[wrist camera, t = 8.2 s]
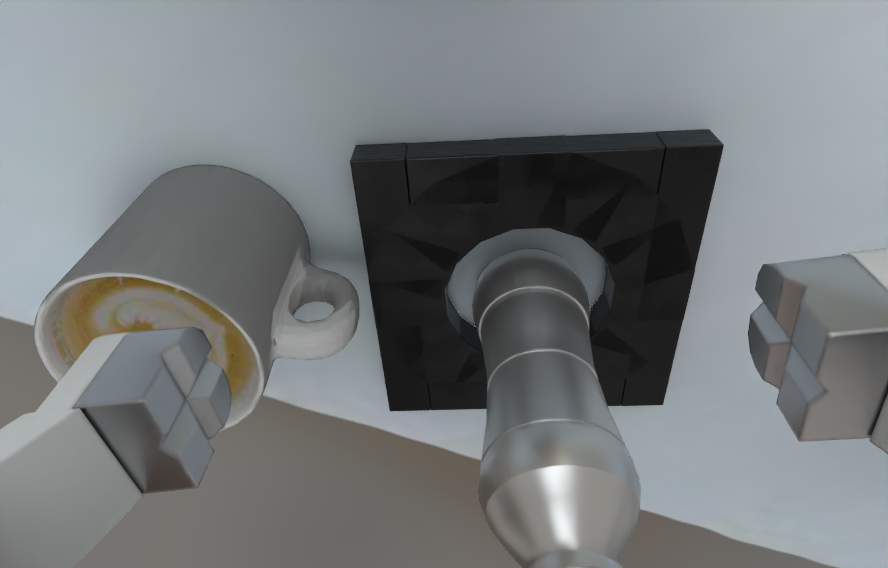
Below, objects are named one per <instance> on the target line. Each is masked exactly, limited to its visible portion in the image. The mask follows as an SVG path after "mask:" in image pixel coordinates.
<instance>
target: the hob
mask: <svg viewBox="0 0 888 568" xmlns="http://www.w3.org/2000/svg"><path fill="white" fill-rule="evenodd" d="M723 146H724V145H723V144H722V143H721V141H720V140H719V139H718V138H717V137H716V136H715V135H714V134H713V133H712V132H711V131H710V130H687V131H665V132H655V133H654V132H650V133H628V134H605V135H583V136H546V137H524V138H502V139H493V140H471V141H449V142H427V143H409V144H407V143H399V144H376V145H356V146H355V149H354V152H353V155H352V158H351V161H350V164H351V170H352V177H353V183H354V189H355V195H356V202H357V208H358V214H359V221H360V227H361V233H362V239H363V246H364V252H365V258H366V264H367V271H368V277H369V286H370V292H371V298H372V304H373V311H374V317H375V323H376V328H377V333H378V340H379V346H380V352H381V359H382V365H383V371H384V377H385V384H386V390H387V396H388V402H389V409H390V411H417V410H430V409H431V410H453V409H487V394H488V393H487V373H486V366H485V360H484V354H483V348H482V343H481V340H480V338H479V335H478V332H477V329H475V328H474V327H473V326H471V325H470V324H468V323H467V322H466V321H464V320H463V319H461V318H460V316H459V315H458V313H457V311H456V310H455V308H454V306H453V305H452V303H451V301H450V300H449V298H448V296H447V284H448V282H449V279H450V277H451V275H452V272H453V270H454V268H455V266H456V263H458V262H459V261H460V260H461V259H462V258H463V257H464V256H465V255H466V254H468V253H469V252H470V251H471V250H472V249H473V248H474V247H475V246H476V245H477V244H479V243H480V242H482V241H484V240H487V239H489V238H492V237H494V236H497V235H500V234H502V233H505V232H507V231H510V230H512V229H528V228H552V229H555V230H558V231H561V232H564V233H567V234H570V235H573V236H576V237H579V238H582V239H583V240H584V241H585V242H587V243H588V244H589V245H590V246H591V247H592V248H593V249H595V250H596V251H597V252H598V253H599V254H600V255H601V256H603V257H604V258H605V261H606V263H607V273H606V281H605V289H604V292H603V294H602V295H601V297H600V298H599V300H598V301H597V303H596V305H595V306H594V308H593V309H592V311H591V312H590V318H589V336H590V343H591V350H592V357H593V364H594V368H595V371H596V374H597V377H598V381H599V383H600V385H601V388H602V391H603V394H604V397H605V400H606V403H607V406H620V405H621V406H640V405H663V402H664V398H665V394H666V389H667V385H668V381H669V377H670V372H671V368H672V364H673V360H674V355H675V351H676V347H677V342H678V338H679V334H680V330H681V325H682V321H683V319H684V315H685V310H686V306H687V302H688V298H689V293H690V289H691V285H692V281H693V276H694V272H695V266H696V261H697V257H698V253H699V249H700V244H701V240H702V236H703V231H704V227H705V223H706V219H707V214H708V210H709V206H710V202H711V197H712V193H713V189H714V184H715V180H716V176H717V172H718V167H719V163H720V159H721V155H722V150H723Z"/></svg>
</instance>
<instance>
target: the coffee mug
mask: <svg viewBox="0 0 888 568" xmlns="http://www.w3.org/2000/svg"><path fill="white" fill-rule="evenodd" d="M309 261H310V248H309V242H308V238H307V235H306V232H305V229H304V227H303V224H302V222H301V220H300V219H299V217H298V216H297V214H296V213H295V211H294V210H293V209H292V208H291V206H290V205H289V204H288V203H287V201H285V200H284V199H283V198H282V197H281V196H280V195H279V194H278V193H277V192H276V191H275V190H273V189H272V188H270V187H269V186H267V185H266V184H264V183H263V182H261V181H259V180H258V179H256V178H254V177H252V176H250V175H247V174H245V173H242V172H239V171H237V170H234V169H230V168H226V167H220V166H212V165H194V166H187V167H182V168H178V169H175V170H172V171H170V172H167V173H165V174H164V175H162V176H160V177H159V178H157V179H156V180H155V181H154V182H153V183H151V184H150V185H149V186H148V187H147V189H146V190H145V191H144V192H143V193H142V194H141V195H140V196H139V197H138V198H137V199H136V200H135V201H134V202H133V204H132V205H131V206H130V207H129V208H128V209H127V210H126V211H125V212H124V213H123V214H122V215H121V216H120V217H119V218H118V220H117V221H116V222H115V223H114V224H113V225H112V226H111V227H110V228H109V229H108V230H107V231H106V232H105V233H104V235H103V236H102V237H101V238H100V239H99V240H98V241H97V242H96V243H95V244H94V245H93V246H92V247H91V248H90V249H89V251H88V252H87V253H86V254H85V255H84V256H83V257H82V258H81V259H80V260H79V261H78V262H77V263H76V264H75V266H74V267H73V268H72V269H71V270H70V271H69V272H68V273H67V274H66V275H65V276H64V277H63V278H62V279H61V281H60V282H59V283H58V284H57V285H56V286H55V287H54V288H53V289H52V290H51V291H50V293H49V294H48V295H47V296H46V298H45V299H44V300H43V302H42V304H41V306H40V308H39V310H38V312H37V315H36V319H35V324H34V333H35V334H34V335H35V341H36V345H37V349H38V352H39V354H40V357H41V359H42V361H43V363H44V364H45V366H46V367H47V369H48V371H49V372H50V374H51V375H52V376H53V377H54V378H55V380H56V381H57V382H58V383H59V382H60V380H61V379H62V378H63V377H64V375H65V374H66V373H67V372H68V370H69V369H70V368H71V367H72V365H73V364H74V363H75V362H76V360H77V359H78V358H79V357H80V355H81V354H82V353H83V352H84V350H85V349H86V348H87V347H88V345H89V344H90V343H91V342H92V340H93V339H95V338H97V337H100V336H103V335H107V334H116V333H125V332H135V331H146V330H158V329H169V328H181V327H192V326H194V327H196V328H199V329H201V330H203V331H204V333H205V335H206V337H207V339H208V340H209V342H210V344H211V346H212V348H211V351H210V354H209V357H208V359H210V360H211V361H213V362H214V363H216V364H217V365H219V366H221V367H222V368H223V369H224V372H225V374H226V376H227V378H228V380H229V384H230V389H231V393H232V396H231V409H230V414H229V416H228V419H227V422H226V424H225V427H224V428H223V429H222V430H224V429H226V428H229V427H231V426H233V425H235V424H237V423H239V422H240V421H242V420H243V419H244V418H246V416H248V415H249V414H250V413H251V412H252V411H253V410H254V409H255V407H256V406H257V404H258V403H259V401H260V399H261V397H262V395H263V392H264V390H265V387H266V384H267V381H268V378H269V375H270V371H271V368H272V365H273V362H274V360H275V359H277V358H292V359H305V360H313V359H322V358H325V357H329V356H331V355H334V354H336V353H338V352H339V351H341V350H343V349H344V348H345V346H346V345H347V344H348V343H349V341H350V340H351V339H352V337H353V335H354V333H355V331H356V328H357V324H358V319H359V298H358V294H357V291H356V289H355V287H354V286H353V284H352V283H351V282H350V281H349V280H348V279H346V278H345V277H343V276H341V275H339V274H337V273H335V272H331V271H327V270H324V269H320V268H317V267H315V266H313V265H311V264H310V263H309ZM314 301H318V302H327V303H329V304H331V305H333V306H334V307H335V310H334V311H333V312H332V313H331V314H330V316H329V317H327V318H325V319H323V320H317V321H311V322H305V321H301V320H298V319H295V318H294V317H293V315H294V313H295V312H296V310H297V309H298V308H300V307H301V306H302V305H304V304H306V303H310V302H314ZM220 431H221V430H220Z"/></svg>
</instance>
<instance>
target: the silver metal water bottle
mask: <svg viewBox="0 0 888 568" xmlns="http://www.w3.org/2000/svg"><path fill="white" fill-rule="evenodd" d="M472 308H473V316H474V321H475V325H476V329H477V332H478V335H479V338H480V340H481V343H482V348H483V354H484V360H485V366H486V373H487V393H488V394H487V421H486V429H485V436H484V444H483V451H482V458H481V467H480V473H479V491H478V492H479V500H480V504H481V506H482V509H483V512H484V515H485V518H486V520H487V523H488V525H489V527H490V529H491V531H492V532H493V533H494V535H495V536H496V537H497V539H498V540H499V542H500V543H501V544H502V546H503V547H504V548H505V550H506V551H507V552H508V553H509V554H510V555H511V557H512V558H513V559H514V560H515V561H516V562H517V563H518V564H519V565H520V566H521V567H522V568H623V567H622V566H621V565H620V564H618V562H619V560H620V558H621V556H622V554H623V553H624V551H625V549H626V547H627V545H628V542H629V541H630V539H631V536H632V533H633V531H634V528H635V525H636V522H637V520H638V516H639V510H640V492H641V486H640V481H639V476H638V474H637V471H636V469H635V466H634V463H633V460H632V458H631V456H630V454H629V452H628V450H627V448H626V445H625V443H624V441H623V439H622V437H621V435H620V433H619V430H618V428H617V426H616V424H615V422H614V420H613V418H612V415H611V413H610V411H609V409H608V406H607V403H606V400H605V397H604V394H603V391H602V388H601V385H600V383H599V381H598V377H597V374H596V371H595V368H594V364H593V357H592V350H591V343H590V336H589V318H590V314H589V302H588V296H587V291H586V289H585V287H584V285H583V283H582V281H581V280H580V278H579V276H578V275H577V273H576V271H575V270H574V269H573V268H572V266H571V265H570V264H569V263H568V262H567V261H565V260H564V259H563V258H562V257H560V256H558V255H556V254H554V253H551V252H548V251H544V250H539V249H519V250H515V251H511V252H508V253H506V254H504V255H501V256H500V257H498V258H496V259H495V260H493V261H492V262H491V263H490V264H489V265H488V266H487V267H486V268H485V269H484V270H483V272H482V273H481V275H480V277H479V279H478V282H477V285H476V289H475V293H474V297H473V304H472Z"/></svg>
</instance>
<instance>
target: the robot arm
mask: <svg viewBox="0 0 888 568" xmlns="http://www.w3.org/2000/svg"><path fill="white" fill-rule="evenodd" d="M755 290H756V291H757V293H758V294H759V296H760V297H761V299H762V300H763V303H762V304H761V305H760V306H759V307H758V308H757V309H756V310H755V311H754V312H753V313H752V314H751V315H750V323H749V330H748V337H749V346H750V353H751V356H752V359H753V362H754V364H755V367H756V369H757V370H758V372H759V374H760V376H761V378H762V379H763V380H764V381H766V382H768V383H770V384H771V385H773V386H775V387H777V388H778V389H780V390H779V394H778V399H777V405H778V407H779V408H780V410H781V412H782V414H783V415H784V417H785V419H786V420H787V422H788V424H789V425H790V427H791V429H792V430H793V432H794V434H795V435H796V437H797V439H798V440H799V442H802V441H821V440H840V439H860V438H870V442H872V443H873V444H874V445H876V446H877V447H879V448H880V449H882V450H883V451H885V452H886V453H887V454H888V250H887V249H884V248H883V249H876V250H868V251H861V252H854V253H847V254H842V255H840V256H831V257H823V258H814V259H806V260H797V261H789V262H780V263H772V264H763V266H762V268H761V270H760V271H759V273H758V277H757V282H756V287H755ZM211 348H212V346H211V344H210V342H209V340H208V339H207V337H206V335H205V333H204V331H203V330H201V329H199V328H196V327H194V326H192V327H181V328H169V329H158V330H146V331H135V332H125V333H116V334H107V335H103V336H100V337H97V338H95V339H93V340H92V342H91V343H90V344H89V345H88V347H87V348H86V349H85V350H84V352H83V353H82V354H81V355H80V357H79V358H78V359H77V360H76V362H75V363H74V364H73V365H72V367H71V368H70V369H69V370H68V372H67V373H66V374H65V375H64V377H63V378H62V379H61V380H60V382H59V383H58V384H57V386H56V387H55V388H54V389H53V390H52V392H51V393H50V394H49V395H48V397H47V398H46V399H45V400H44V402H43V403H42V404H41V406H40V407H39V408H38V410H37V411H36V412H35V413H26V414H24V415H22V416H20V417H19V418H17V419H16V420H14V421H12V422H11V423H9V424H8V425H6V426H5V427H3V428H1V429H0V568H74V567H75V566H76V565H77V564H78V563H79V562H80V561H81V560H82V559H83V558H84V557H85V556H86V555H87V554H88V553H89V552H90V551H91V550H92V549H93V548H94V547H95V546H96V545H97V544H98V543H99V542H100V541H101V540H102V539H103V538H104V537H105V536H106V535H107V533H108V532H110V530H112V529H113V527H114V526H115V525H116V524H117V523H118V522H119V521H120V520H121V519H122V518H123V517H124V516H125V515H126V514H127V513H128V512H129V511H130V510H131V509H132V508H133V507H134V506H135V505H136V504H137V503H138V502H139V501H140V500H141V499H142V498H143V494H146V493H155V492H165V491H174V490H183V489H193V488H198V487H199V484H200V482H201V480H202V477H203V475H204V473H205V471H206V468H207V466H208V464H209V461H210V459H211V457H212V454H213V452H214V450H213V447H212V445H211V442H210V439H211V438H212V437H213V436H215V435H216V434H217V433H218V432H219V431H220V430H222V429H223V428H224V427H225V424H226V422H227V419H228V416H229V414H230V409H231V396H232V393H231V389H230V384H229V380H228V378H227V376H226V374H225V372H224V369H223V368H222V367H221V366H219V365H217V364H216V363H214V362H213V361H211V360H210V359H208V357H209V354H210V351H211Z"/></svg>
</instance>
